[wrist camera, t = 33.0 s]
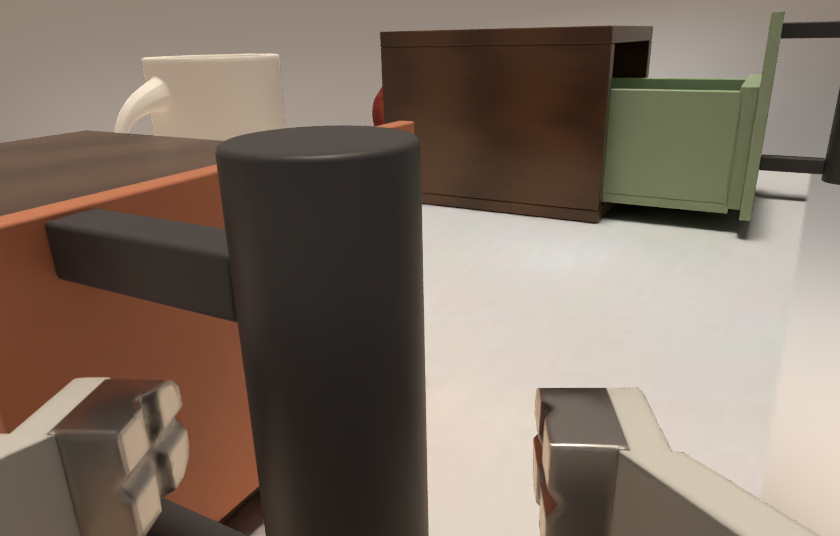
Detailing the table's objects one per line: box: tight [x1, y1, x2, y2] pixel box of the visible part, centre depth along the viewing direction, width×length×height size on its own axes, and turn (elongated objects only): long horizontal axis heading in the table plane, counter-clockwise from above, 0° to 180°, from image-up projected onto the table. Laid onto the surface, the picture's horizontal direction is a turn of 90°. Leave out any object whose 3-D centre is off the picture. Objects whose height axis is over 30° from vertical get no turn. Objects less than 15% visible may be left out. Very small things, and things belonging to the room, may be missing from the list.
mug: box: [115, 54, 286, 141], centre depth 42 cm, size 9×12×11 cm
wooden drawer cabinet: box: [380, 26, 653, 223], centre depth 48 cm, size 16×14×12 cm
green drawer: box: [602, 11, 840, 221], centre depth 42 cm, size 22×14×11 cm, turn 62°
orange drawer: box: [0, 121, 428, 536], centre depth 18 cm, size 22×14×9 cm, turn 62°
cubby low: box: [0, 131, 260, 524], centre depth 20 cm, size 16×14×8 cm
